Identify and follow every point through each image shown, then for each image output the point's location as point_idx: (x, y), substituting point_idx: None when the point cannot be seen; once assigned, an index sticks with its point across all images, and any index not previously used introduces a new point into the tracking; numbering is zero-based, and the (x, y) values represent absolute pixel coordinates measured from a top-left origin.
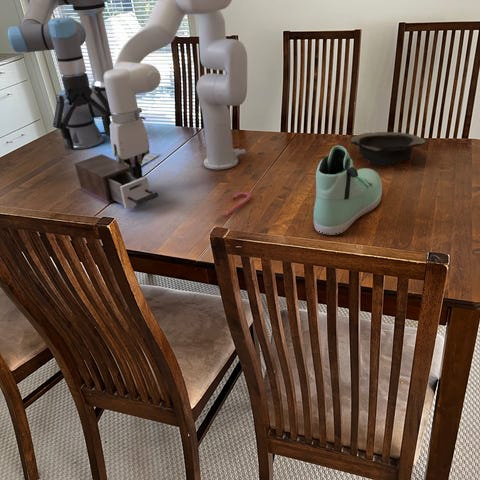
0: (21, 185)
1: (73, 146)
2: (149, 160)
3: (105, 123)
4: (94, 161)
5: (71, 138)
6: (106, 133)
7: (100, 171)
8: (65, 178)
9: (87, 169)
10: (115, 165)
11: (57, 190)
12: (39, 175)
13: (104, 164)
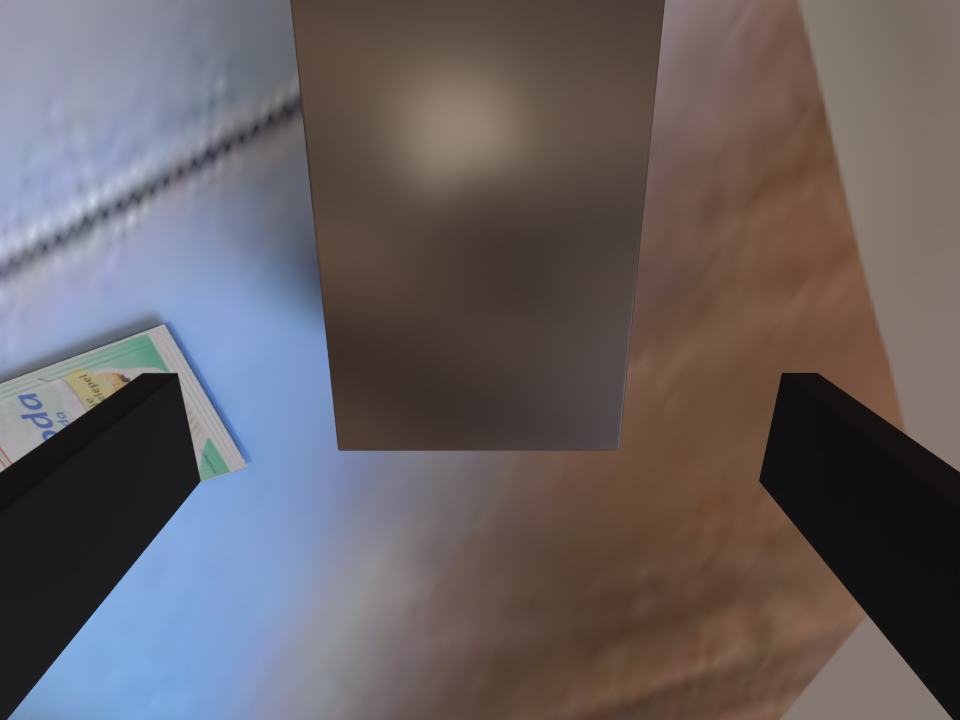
0: (740, 656)
1: (804, 384)
2: (16, 382)
3: (41, 543)
4: (477, 346)
5: (888, 452)
6: (174, 461)
7: (591, 32)
8: (546, 564)
9: (636, 217)
10: (388, 46)
11: (672, 458)
12: (611, 692)
13: (454, 187)
